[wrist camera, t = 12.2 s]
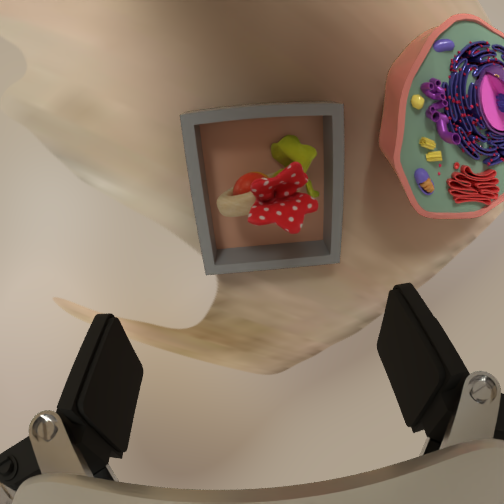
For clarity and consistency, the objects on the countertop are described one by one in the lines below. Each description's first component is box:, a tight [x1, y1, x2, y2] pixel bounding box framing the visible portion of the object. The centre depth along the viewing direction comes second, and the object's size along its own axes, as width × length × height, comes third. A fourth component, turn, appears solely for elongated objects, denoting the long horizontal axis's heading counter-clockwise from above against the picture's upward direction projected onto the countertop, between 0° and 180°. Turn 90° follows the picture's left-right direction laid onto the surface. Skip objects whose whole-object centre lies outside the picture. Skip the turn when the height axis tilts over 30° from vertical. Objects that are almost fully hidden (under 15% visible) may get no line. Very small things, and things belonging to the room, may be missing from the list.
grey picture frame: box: [180, 101, 344, 275], centre depth 27 cm, size 15×13×4 cm
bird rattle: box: [217, 135, 319, 234], centre depth 24 cm, size 6×11×9 cm
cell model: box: [378, 14, 504, 219], centre depth 20 cm, size 17×20×11 cm
